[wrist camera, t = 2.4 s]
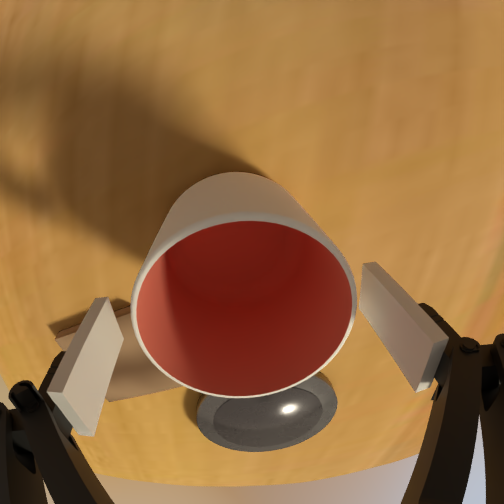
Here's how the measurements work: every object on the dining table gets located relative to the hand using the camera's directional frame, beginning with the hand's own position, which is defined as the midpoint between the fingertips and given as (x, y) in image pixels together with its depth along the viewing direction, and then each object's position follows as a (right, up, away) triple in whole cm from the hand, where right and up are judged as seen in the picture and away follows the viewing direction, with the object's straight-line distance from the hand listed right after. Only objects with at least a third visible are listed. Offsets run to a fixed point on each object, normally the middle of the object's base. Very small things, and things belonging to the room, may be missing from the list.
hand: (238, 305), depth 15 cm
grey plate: (+2, -14, +15) cm, 21 cm away
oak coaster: (-12, -7, +10) cm, 17 cm away
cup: (-1, +4, +7) cm, 8 cm away
